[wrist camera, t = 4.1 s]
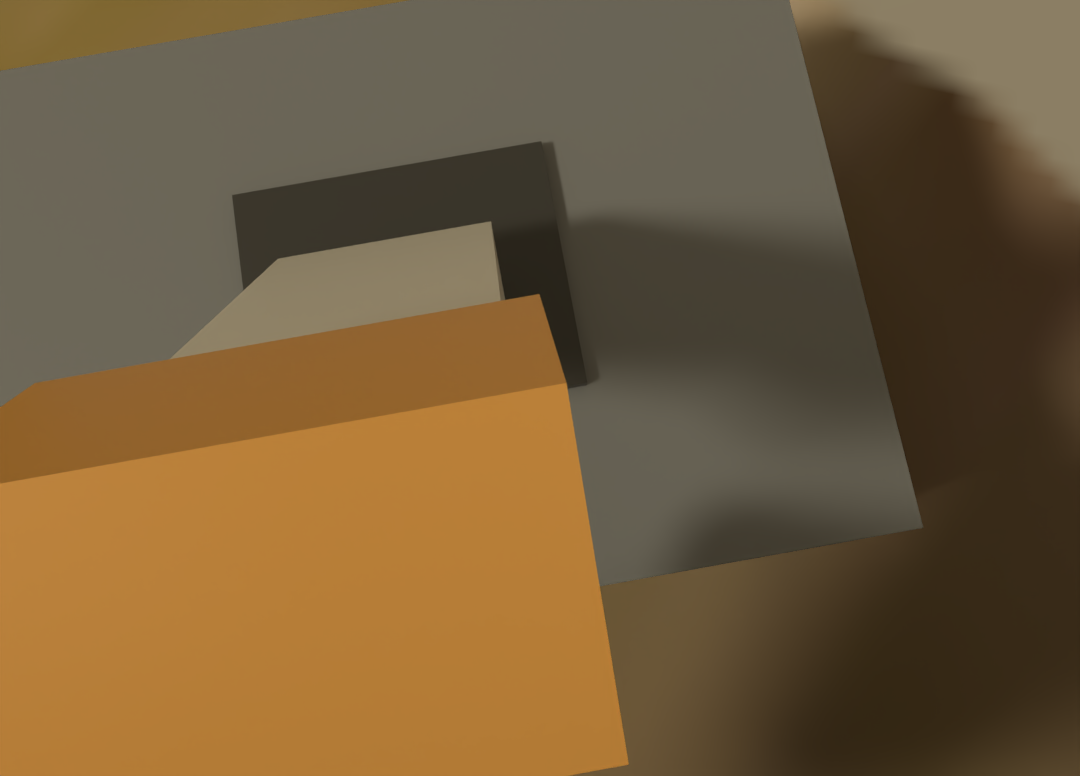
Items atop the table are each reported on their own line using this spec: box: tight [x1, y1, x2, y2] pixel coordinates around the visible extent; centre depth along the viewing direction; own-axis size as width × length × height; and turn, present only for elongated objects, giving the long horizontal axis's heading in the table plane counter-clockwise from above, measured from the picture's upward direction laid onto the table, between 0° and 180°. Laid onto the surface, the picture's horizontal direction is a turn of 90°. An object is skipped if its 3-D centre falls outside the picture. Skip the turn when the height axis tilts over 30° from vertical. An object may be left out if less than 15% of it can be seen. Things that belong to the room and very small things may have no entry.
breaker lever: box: [0, 221, 629, 776], centre depth 9 cm, size 2×4×8 cm
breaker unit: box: [0, 0, 923, 586], centre depth 17 cm, size 10×14×6 cm
